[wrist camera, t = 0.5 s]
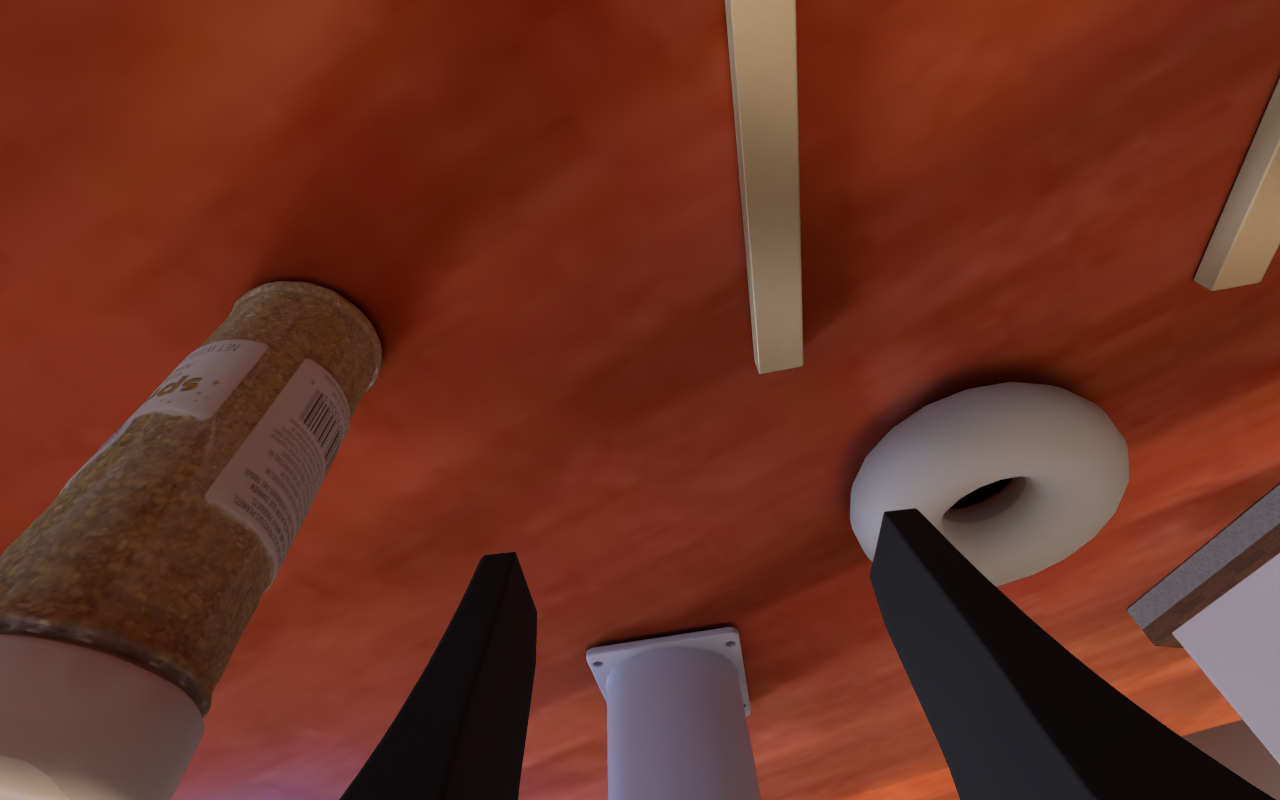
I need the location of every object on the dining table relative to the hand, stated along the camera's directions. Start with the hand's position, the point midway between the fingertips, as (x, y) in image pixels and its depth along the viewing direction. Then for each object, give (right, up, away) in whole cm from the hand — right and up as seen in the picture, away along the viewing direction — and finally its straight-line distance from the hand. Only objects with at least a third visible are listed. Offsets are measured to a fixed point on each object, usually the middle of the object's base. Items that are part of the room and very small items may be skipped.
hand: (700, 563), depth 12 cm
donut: (+12, +1, +13) cm, 17 cm away
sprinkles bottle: (-12, +5, +7) cm, 15 cm away
